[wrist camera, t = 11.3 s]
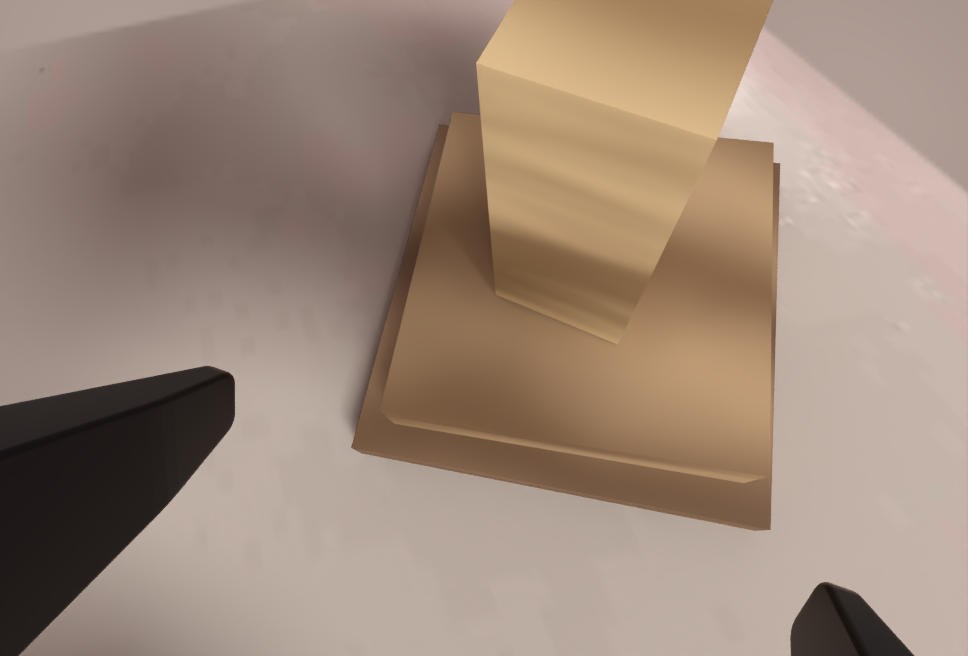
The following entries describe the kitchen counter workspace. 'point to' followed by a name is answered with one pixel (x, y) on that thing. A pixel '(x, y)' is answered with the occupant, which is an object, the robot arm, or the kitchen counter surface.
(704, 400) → the top slab
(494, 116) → the oak block
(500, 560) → the kitchen counter surface
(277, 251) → the kitchen counter surface
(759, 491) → the bottom slab
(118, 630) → the kitchen counter surface
